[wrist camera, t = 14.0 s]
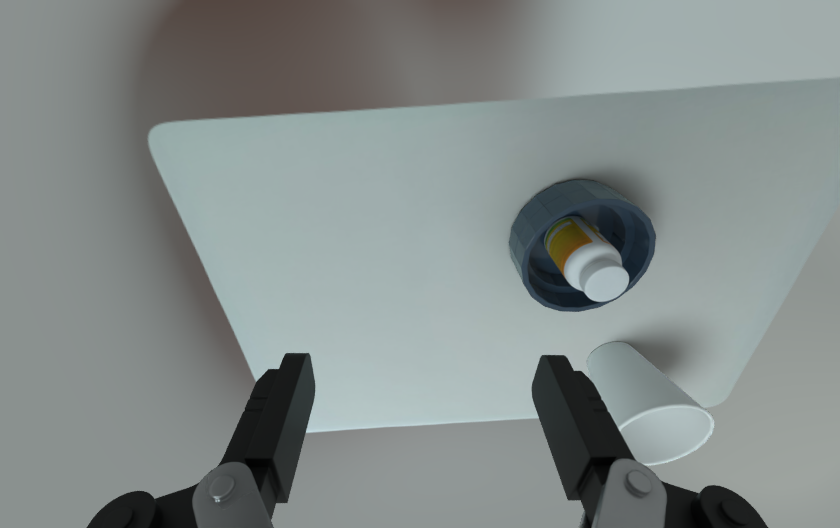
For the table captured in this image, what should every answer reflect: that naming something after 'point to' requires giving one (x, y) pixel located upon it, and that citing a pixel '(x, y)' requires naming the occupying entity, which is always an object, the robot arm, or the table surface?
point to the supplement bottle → (586, 258)
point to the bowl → (604, 213)
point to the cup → (647, 405)
